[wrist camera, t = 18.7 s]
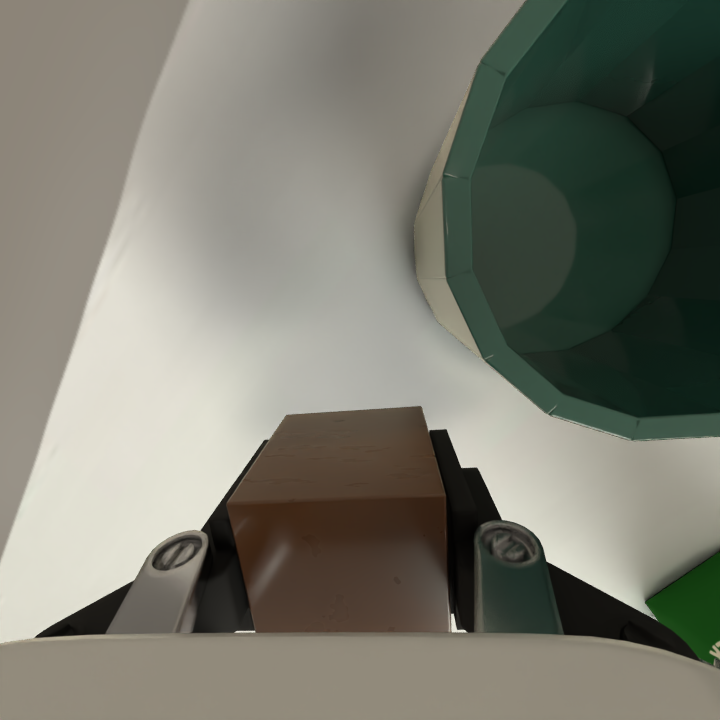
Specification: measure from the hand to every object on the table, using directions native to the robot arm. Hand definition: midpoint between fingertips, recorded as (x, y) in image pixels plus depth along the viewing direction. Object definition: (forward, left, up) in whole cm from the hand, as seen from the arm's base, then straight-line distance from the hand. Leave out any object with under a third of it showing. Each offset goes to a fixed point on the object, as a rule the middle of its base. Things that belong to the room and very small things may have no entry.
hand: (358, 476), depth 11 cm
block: (0, 0, 0) cm, 0 cm away
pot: (-7, +10, -10) cm, 16 cm away
